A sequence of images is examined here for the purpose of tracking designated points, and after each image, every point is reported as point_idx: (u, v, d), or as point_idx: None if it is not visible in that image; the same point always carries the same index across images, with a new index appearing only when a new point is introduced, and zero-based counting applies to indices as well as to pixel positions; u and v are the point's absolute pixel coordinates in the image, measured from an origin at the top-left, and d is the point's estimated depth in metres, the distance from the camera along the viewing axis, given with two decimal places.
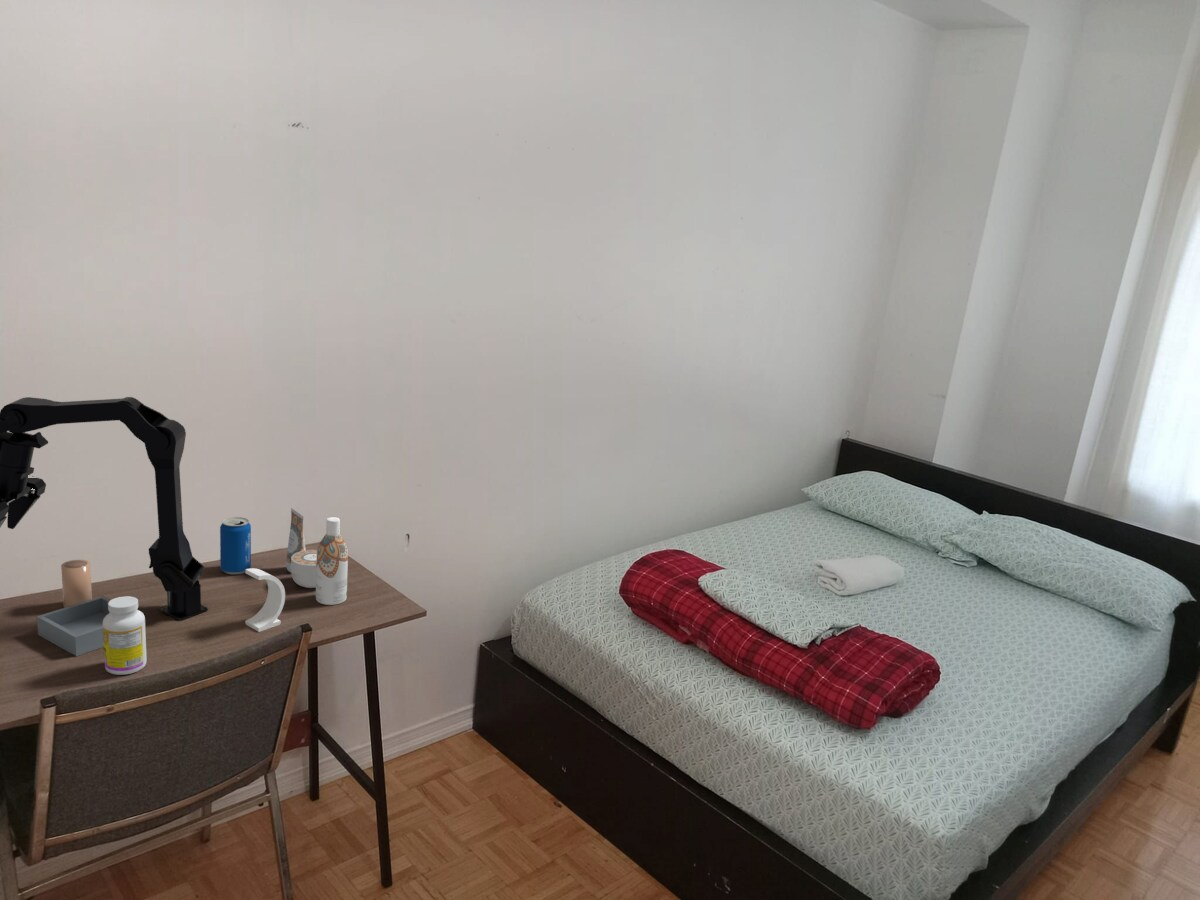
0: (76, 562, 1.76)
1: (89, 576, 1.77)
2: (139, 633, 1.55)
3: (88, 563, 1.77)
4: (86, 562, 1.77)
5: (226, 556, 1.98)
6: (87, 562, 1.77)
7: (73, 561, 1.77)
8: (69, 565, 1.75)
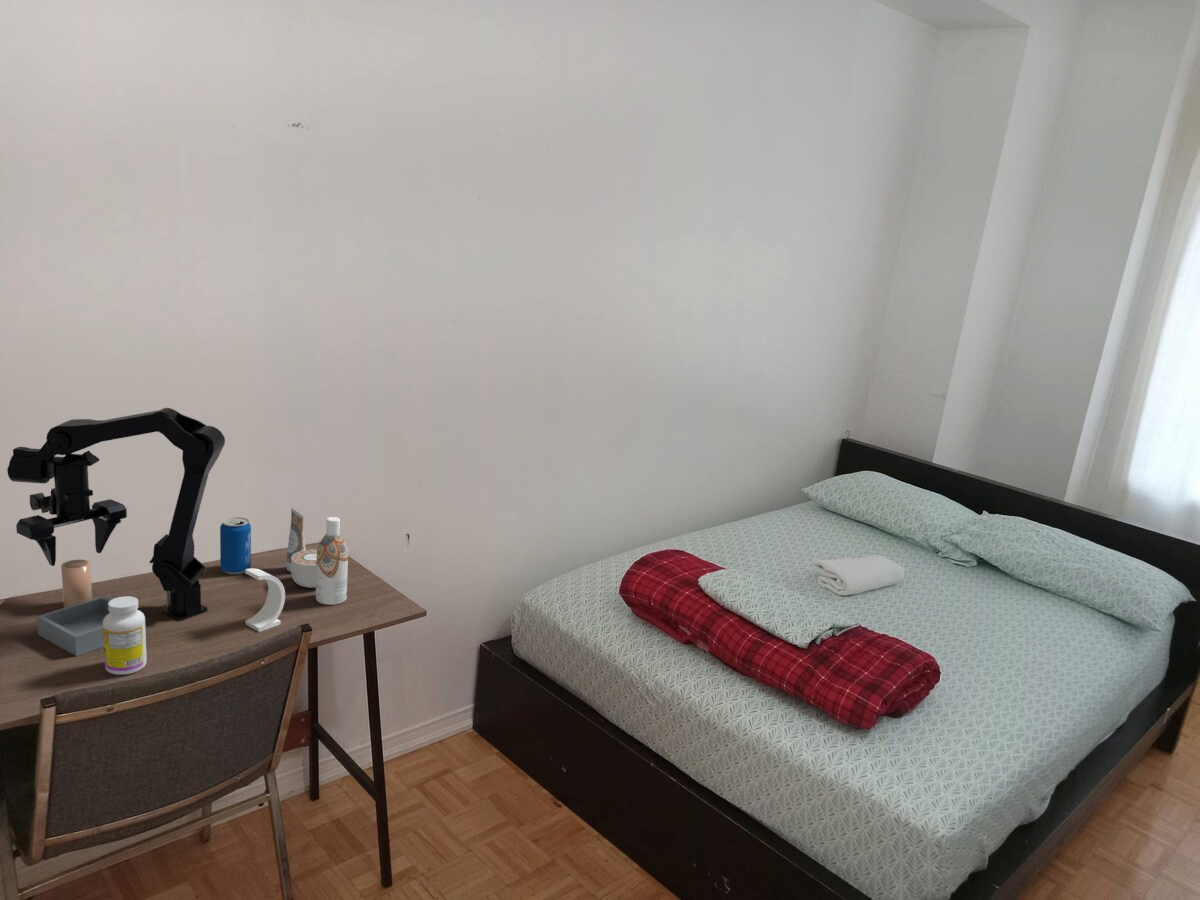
0: (76, 562, 1.76)
1: (89, 576, 1.77)
2: (139, 633, 1.55)
3: (88, 563, 1.77)
4: (86, 562, 1.77)
5: (226, 556, 1.98)
6: (87, 562, 1.77)
7: (73, 561, 1.77)
8: (69, 565, 1.75)
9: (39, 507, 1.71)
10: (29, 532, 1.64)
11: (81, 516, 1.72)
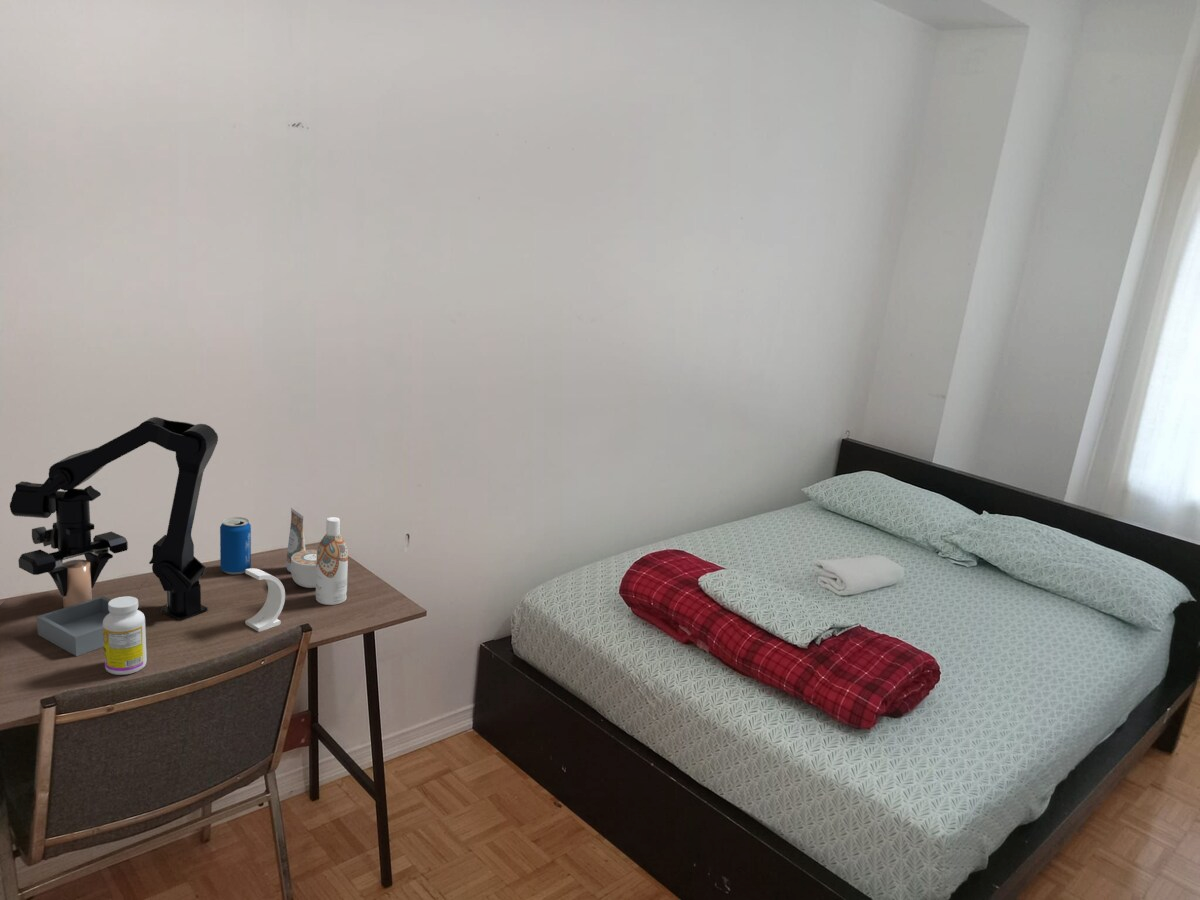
0: (76, 562, 1.76)
1: (89, 576, 1.77)
2: (139, 633, 1.55)
3: (88, 563, 1.77)
4: (86, 562, 1.77)
5: (226, 556, 1.98)
6: (87, 562, 1.77)
7: (73, 561, 1.77)
8: (69, 565, 1.75)
9: (41, 541, 1.73)
10: (31, 567, 1.66)
11: (82, 550, 1.73)
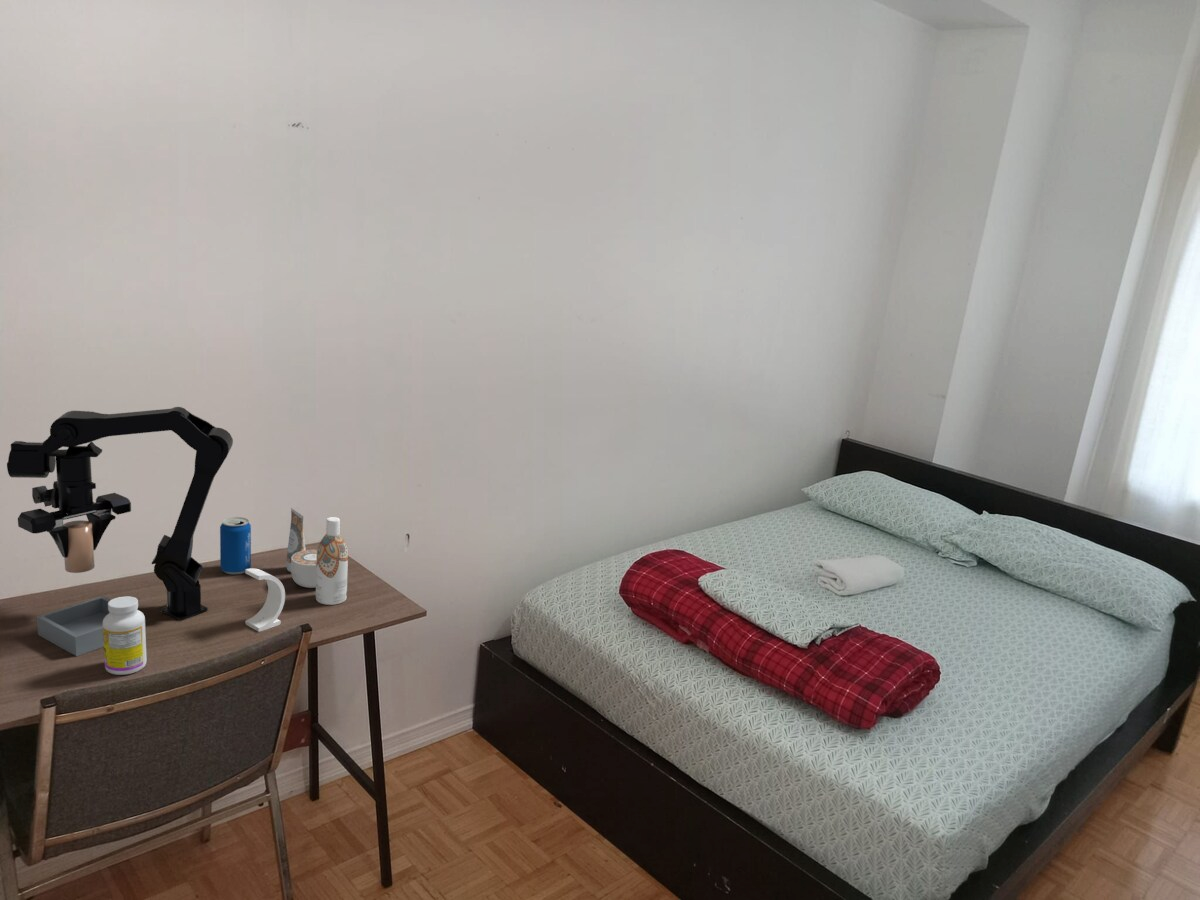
0: (77, 523, 1.71)
1: (91, 538, 1.71)
2: (139, 633, 1.55)
3: (90, 524, 1.71)
4: (88, 523, 1.72)
5: (226, 556, 1.98)
6: (89, 523, 1.72)
7: (75, 522, 1.71)
8: (70, 525, 1.69)
9: (41, 500, 1.68)
10: (31, 526, 1.61)
11: (84, 510, 1.68)
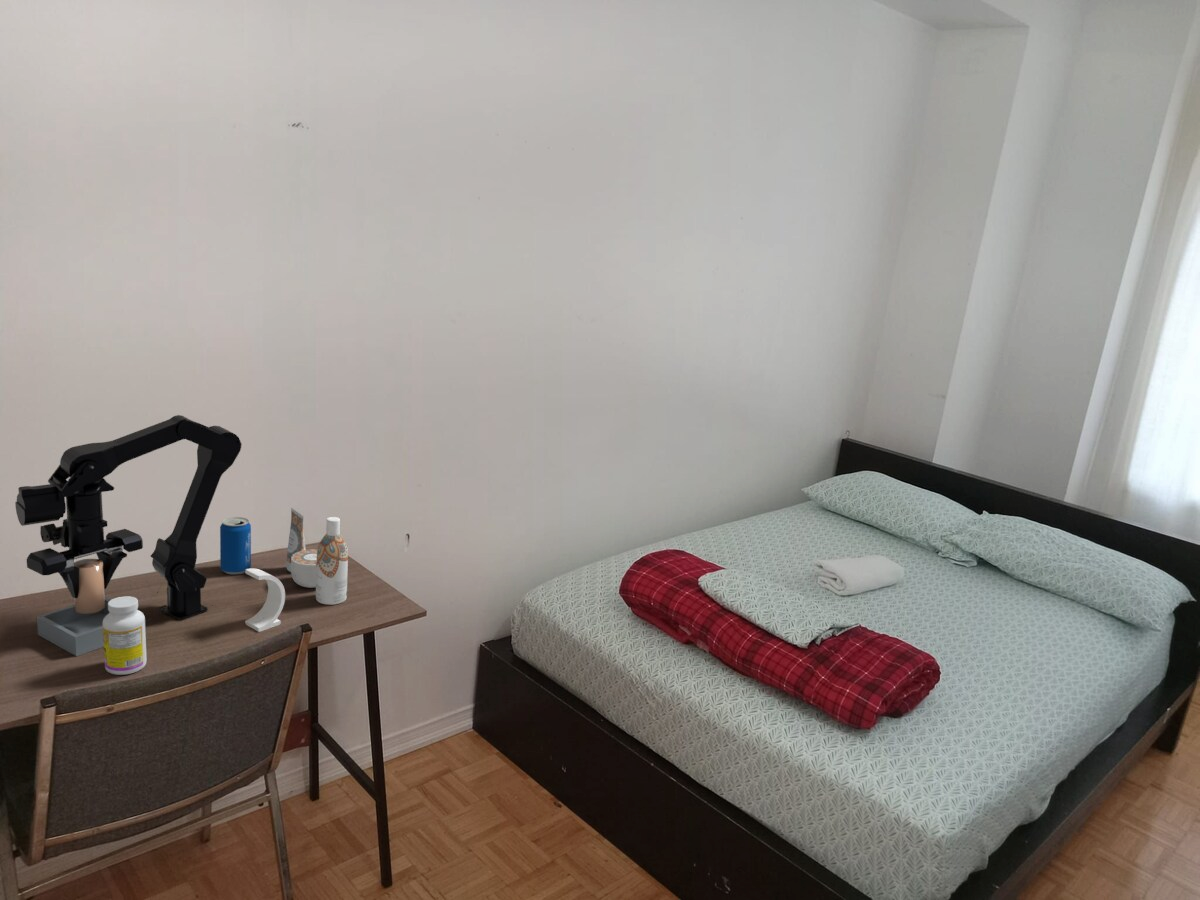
0: (87, 562, 1.65)
1: (102, 577, 1.65)
2: (139, 633, 1.55)
3: (101, 562, 1.65)
4: (99, 561, 1.65)
5: (226, 556, 1.98)
6: (99, 561, 1.65)
7: (85, 560, 1.65)
8: (80, 564, 1.63)
9: (50, 539, 1.62)
10: (41, 567, 1.54)
11: (95, 549, 1.62)
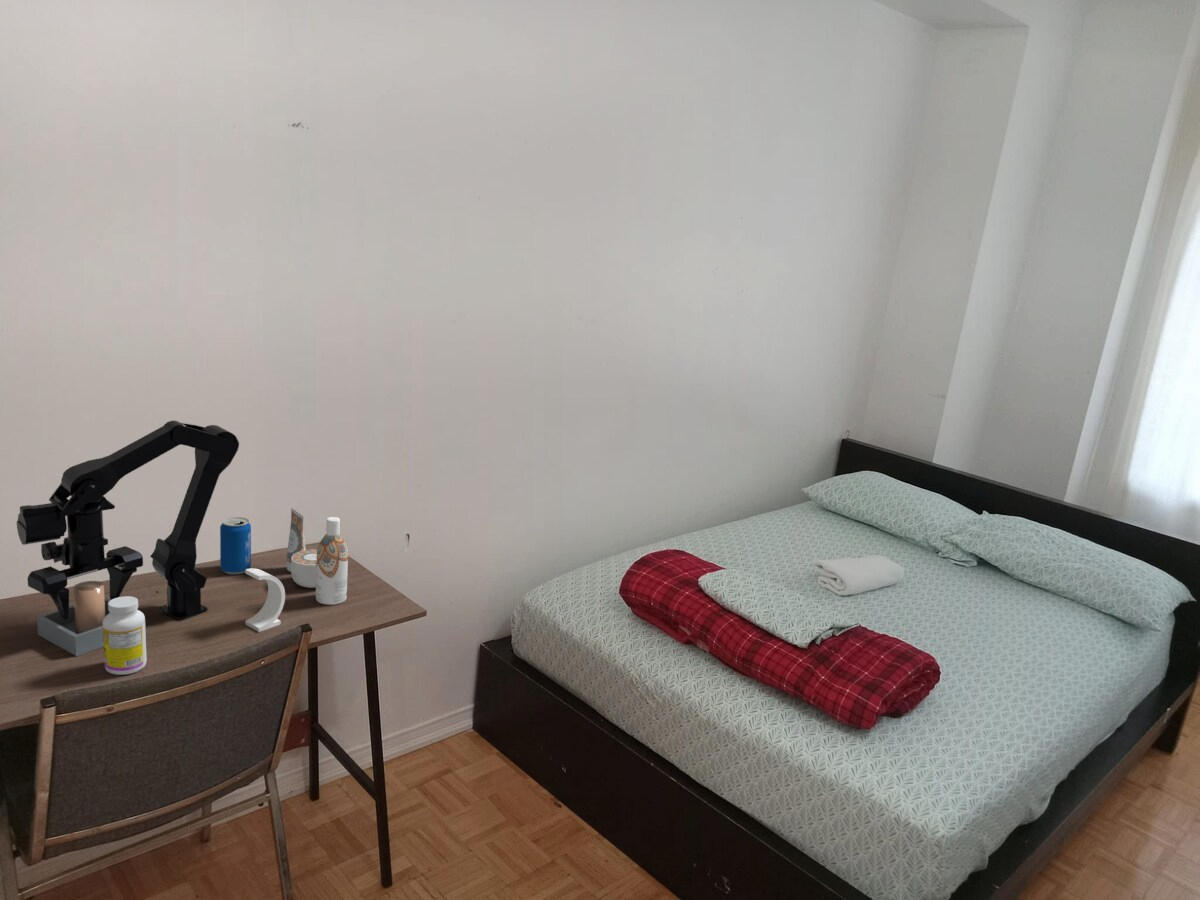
0: (89, 584, 1.66)
1: (103, 599, 1.66)
2: (139, 633, 1.55)
3: (102, 585, 1.66)
4: (100, 583, 1.67)
5: (226, 556, 1.98)
6: (101, 584, 1.67)
7: (86, 583, 1.66)
8: (82, 587, 1.64)
9: (51, 557, 1.62)
10: (42, 586, 1.55)
11: (95, 567, 1.63)
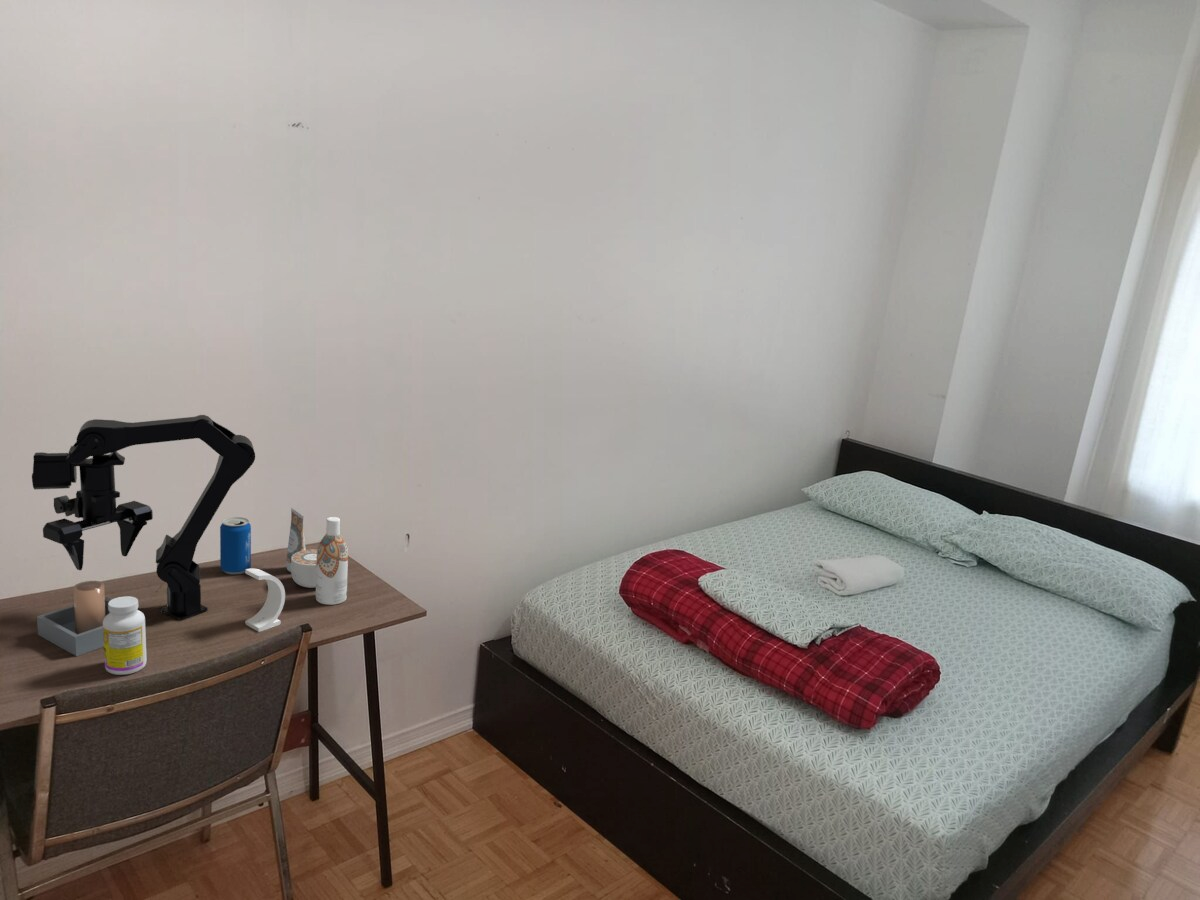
0: (89, 584, 1.66)
1: (103, 599, 1.66)
2: (139, 633, 1.55)
3: (102, 585, 1.66)
4: (100, 584, 1.67)
5: (226, 556, 1.98)
6: (101, 584, 1.67)
7: (86, 583, 1.66)
8: (82, 587, 1.64)
9: (64, 510, 1.67)
10: (58, 536, 1.60)
11: (108, 519, 1.67)
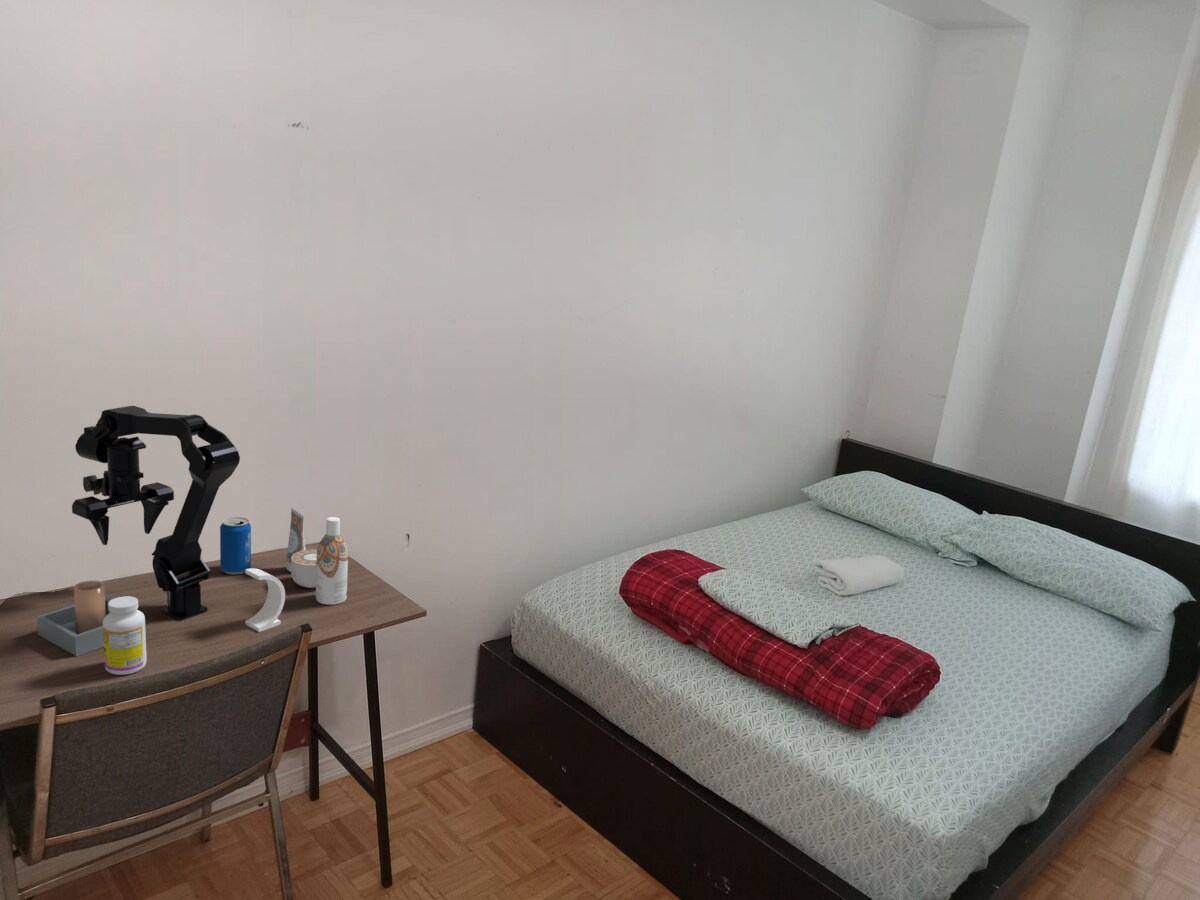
0: (90, 584, 1.66)
1: (103, 599, 1.66)
2: (139, 633, 1.55)
3: (102, 585, 1.66)
4: (101, 583, 1.67)
5: (226, 556, 1.98)
6: (101, 583, 1.67)
7: (87, 582, 1.67)
8: (82, 586, 1.65)
9: (92, 489, 1.79)
10: (85, 512, 1.72)
11: (132, 497, 1.79)
